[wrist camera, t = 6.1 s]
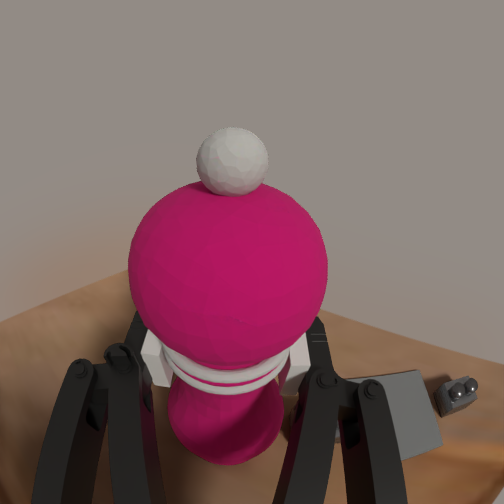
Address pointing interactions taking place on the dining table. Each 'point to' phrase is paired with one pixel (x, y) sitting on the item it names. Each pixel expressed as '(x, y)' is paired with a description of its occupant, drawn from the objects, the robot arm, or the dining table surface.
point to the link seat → (410, 412)
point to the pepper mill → (227, 295)
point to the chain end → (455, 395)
